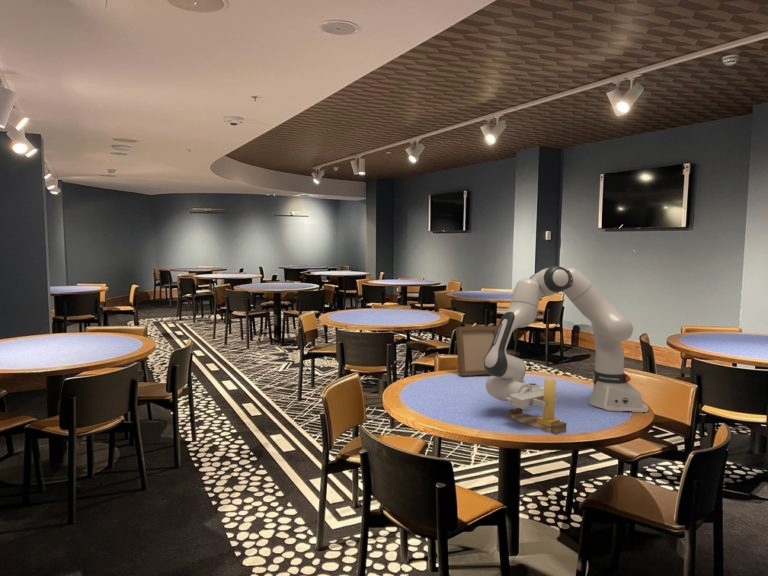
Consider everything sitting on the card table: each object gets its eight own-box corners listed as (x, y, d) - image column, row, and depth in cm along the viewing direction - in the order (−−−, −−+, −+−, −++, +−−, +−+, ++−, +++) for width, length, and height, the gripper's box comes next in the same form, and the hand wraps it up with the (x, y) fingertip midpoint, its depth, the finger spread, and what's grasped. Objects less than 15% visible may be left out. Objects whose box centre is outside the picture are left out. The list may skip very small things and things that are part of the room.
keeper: (537, 422, 196) (538, 379, 195) (545, 420, 198) (547, 377, 197) (550, 427, 191) (552, 382, 190) (559, 424, 194) (561, 381, 192)
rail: (507, 417, 207) (508, 410, 206) (518, 415, 210) (518, 407, 210) (555, 434, 189) (555, 426, 188) (566, 431, 192) (566, 423, 192)
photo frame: (501, 375, 277) (502, 327, 275) (462, 377, 271) (463, 328, 270) (489, 369, 291) (490, 323, 290) (451, 371, 286) (452, 324, 284)
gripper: (502, 389, 199) (532, 398, 187) (538, 382, 210) (568, 390, 199) (501, 406, 199) (531, 416, 188) (538, 398, 211) (568, 407, 199)
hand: (551, 403), depth 193 cm, fingers closed on keeper, 4 cm apart
